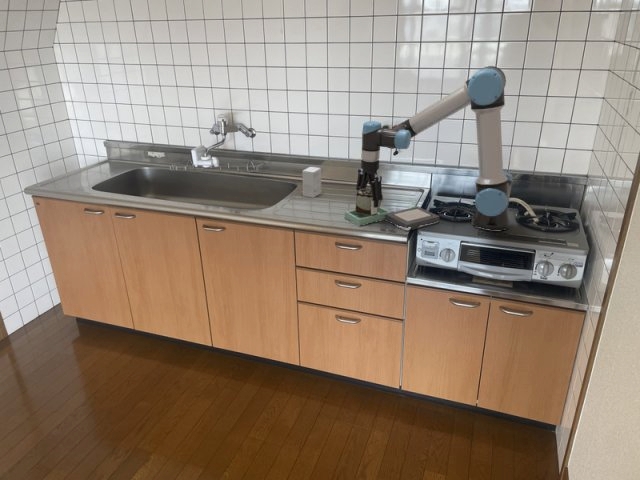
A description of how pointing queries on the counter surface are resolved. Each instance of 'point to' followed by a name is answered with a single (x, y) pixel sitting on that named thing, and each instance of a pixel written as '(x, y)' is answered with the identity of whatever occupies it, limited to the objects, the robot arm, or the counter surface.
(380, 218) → the trough tray
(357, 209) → the food container
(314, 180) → the small box
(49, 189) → the counter surface
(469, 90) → the robot arm
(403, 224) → the base
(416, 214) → the checker plate
